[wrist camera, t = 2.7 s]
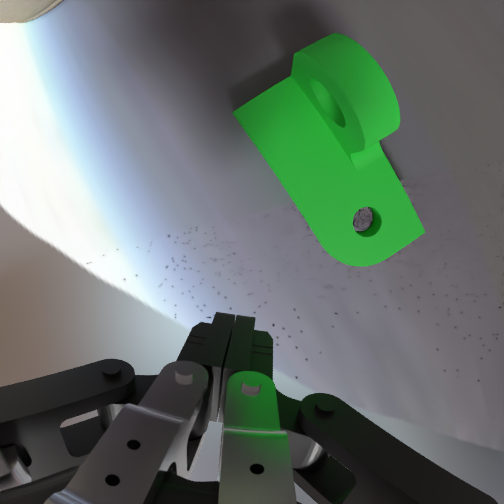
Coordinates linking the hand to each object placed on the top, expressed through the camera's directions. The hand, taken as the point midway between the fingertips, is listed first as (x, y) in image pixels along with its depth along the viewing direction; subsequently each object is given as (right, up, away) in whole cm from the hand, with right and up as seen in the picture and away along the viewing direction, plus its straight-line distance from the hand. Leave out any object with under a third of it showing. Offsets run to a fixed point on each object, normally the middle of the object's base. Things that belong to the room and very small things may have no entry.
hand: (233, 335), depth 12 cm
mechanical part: (+6, +8, +7) cm, 12 cm away
